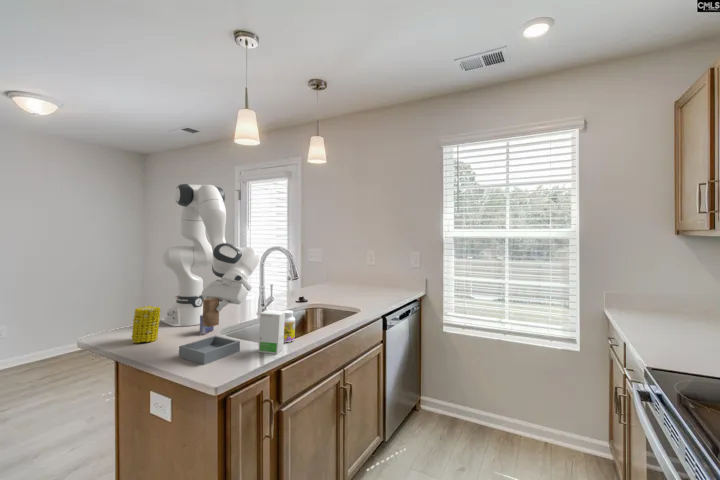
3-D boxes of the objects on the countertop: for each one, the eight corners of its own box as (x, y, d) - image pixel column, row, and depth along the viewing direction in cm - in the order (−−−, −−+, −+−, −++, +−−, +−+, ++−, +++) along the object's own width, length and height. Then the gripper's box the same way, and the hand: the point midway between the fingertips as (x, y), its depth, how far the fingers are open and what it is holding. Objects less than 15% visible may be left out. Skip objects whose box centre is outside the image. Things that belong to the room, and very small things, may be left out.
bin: (178, 357, 125) (179, 346, 125) (215, 345, 139) (215, 335, 139) (204, 364, 119) (204, 353, 119) (239, 351, 133) (239, 341, 133)
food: (126, 346, 139) (149, 340, 149) (147, 343, 135) (169, 338, 145) (123, 309, 141) (145, 306, 150) (143, 305, 137) (165, 302, 146)
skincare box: (257, 352, 132) (258, 313, 132) (264, 347, 138) (265, 309, 138) (278, 354, 131) (279, 314, 131) (284, 348, 137) (285, 310, 137)
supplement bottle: (276, 342, 145) (277, 312, 145) (282, 338, 151) (283, 309, 151) (291, 343, 144) (292, 313, 144) (296, 339, 150) (297, 310, 150)
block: (202, 325, 128) (203, 299, 128) (211, 323, 131) (212, 297, 131) (209, 327, 126) (210, 300, 126) (218, 324, 130) (219, 298, 130)
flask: (203, 335, 152) (203, 311, 152) (197, 335, 152) (197, 311, 152) (215, 330, 161) (215, 307, 161) (209, 329, 161) (209, 307, 161)
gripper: (210, 274, 140) (189, 301, 132) (246, 278, 131) (225, 307, 122) (219, 284, 144) (198, 311, 136) (255, 288, 135) (235, 317, 126)
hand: (211, 309), depth 129 cm, fingers closed on block, 4 cm apart
